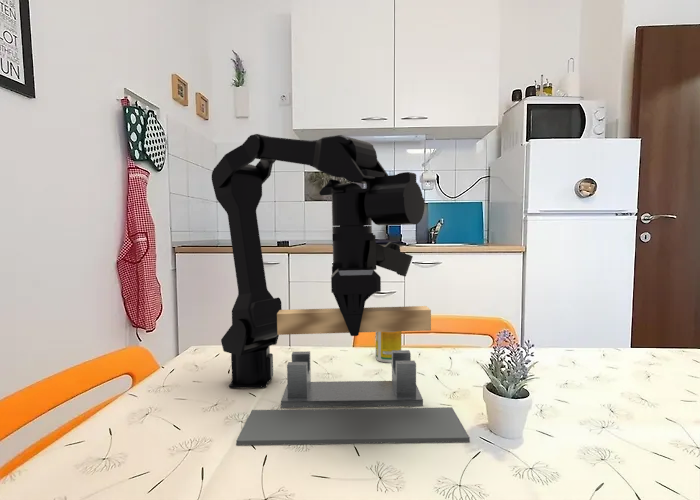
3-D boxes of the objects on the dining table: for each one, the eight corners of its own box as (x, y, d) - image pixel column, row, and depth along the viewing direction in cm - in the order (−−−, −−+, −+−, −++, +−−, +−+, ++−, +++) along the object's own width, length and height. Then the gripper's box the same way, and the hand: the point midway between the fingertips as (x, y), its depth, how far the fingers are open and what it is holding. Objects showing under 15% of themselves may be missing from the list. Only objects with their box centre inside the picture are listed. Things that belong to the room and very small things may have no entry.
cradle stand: (280, 407, 65) (280, 366, 64) (288, 387, 73) (287, 350, 72) (423, 405, 65) (423, 364, 65) (414, 386, 73) (414, 349, 73)
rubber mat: (236, 445, 54) (236, 440, 54) (252, 413, 63) (252, 409, 63) (469, 442, 54) (469, 437, 54) (452, 411, 63) (452, 407, 63)
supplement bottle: (370, 358, 88) (370, 313, 88) (388, 353, 92) (388, 310, 91) (388, 365, 84) (388, 317, 84) (406, 359, 88) (406, 314, 87)
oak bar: (277, 334, 60) (276, 313, 59) (280, 329, 63) (279, 309, 62) (431, 330, 60) (430, 309, 60) (426, 325, 63) (426, 306, 63)
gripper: (420, 224, 52) (421, 349, 52) (397, 225, 70) (398, 317, 71) (330, 226, 51) (332, 352, 52) (331, 226, 70) (333, 319, 71)
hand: (354, 332), depth 61 cm, fingers closed on oak bar, 3 cm apart
